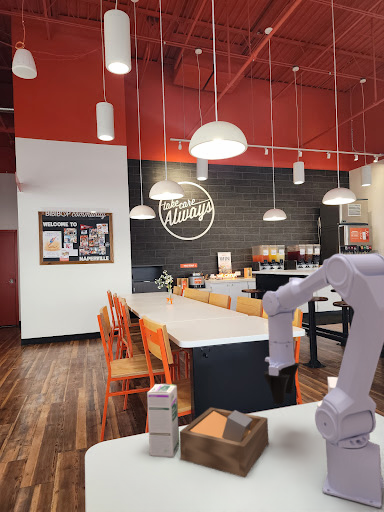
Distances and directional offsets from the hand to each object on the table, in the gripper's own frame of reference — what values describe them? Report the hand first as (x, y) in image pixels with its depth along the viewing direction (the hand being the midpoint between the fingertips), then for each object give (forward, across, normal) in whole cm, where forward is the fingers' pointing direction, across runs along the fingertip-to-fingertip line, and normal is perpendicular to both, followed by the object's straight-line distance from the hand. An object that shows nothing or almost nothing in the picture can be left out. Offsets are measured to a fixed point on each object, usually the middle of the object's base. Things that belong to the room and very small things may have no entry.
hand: (283, 397), depth 84 cm
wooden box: (+10, +10, -11) cm, 18 cm away
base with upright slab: (+11, -12, +10) cm, 19 cm away
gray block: (+7, +10, -9) cm, 15 cm away
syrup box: (+11, +16, -24) cm, 31 cm away
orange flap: (+7, +10, -11) cm, 17 cm away
